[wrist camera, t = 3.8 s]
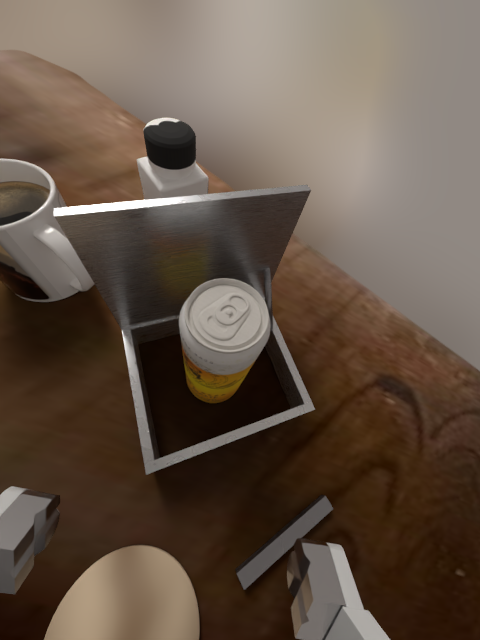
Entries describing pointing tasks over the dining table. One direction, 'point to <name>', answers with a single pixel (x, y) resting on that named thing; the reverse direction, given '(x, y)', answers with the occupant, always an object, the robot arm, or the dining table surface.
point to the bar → (282, 541)
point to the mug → (35, 237)
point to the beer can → (221, 336)
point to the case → (186, 278)
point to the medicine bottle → (170, 161)
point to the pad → (129, 600)
